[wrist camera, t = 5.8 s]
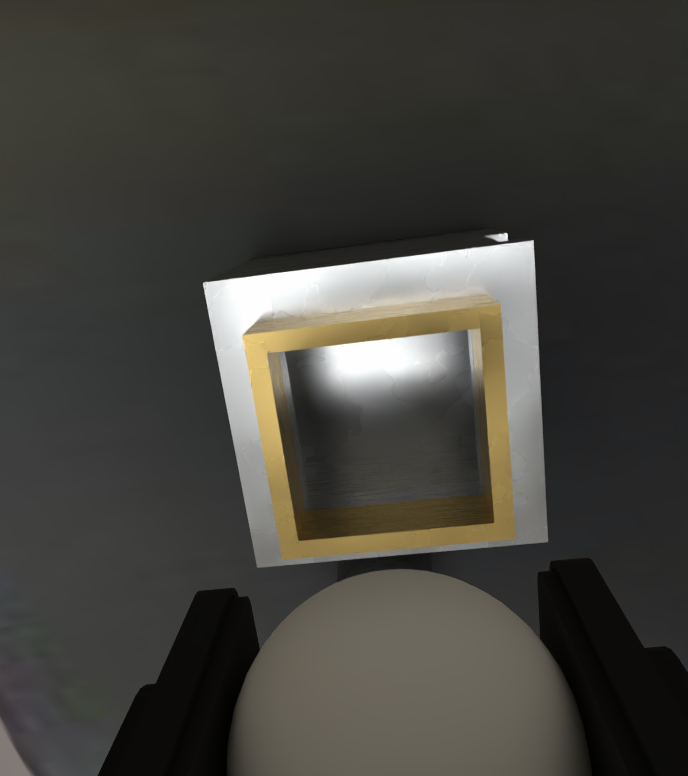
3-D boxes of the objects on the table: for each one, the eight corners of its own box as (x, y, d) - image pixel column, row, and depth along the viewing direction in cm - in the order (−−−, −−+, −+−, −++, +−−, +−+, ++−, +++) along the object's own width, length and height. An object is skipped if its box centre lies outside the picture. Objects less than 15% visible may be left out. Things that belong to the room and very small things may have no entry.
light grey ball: (534, 496, 9) (665, 744, 5) (545, 738, 11) (658, 1097, 6) (237, 524, 10) (134, 778, 5) (282, 755, 11) (225, 1106, 7)
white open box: (488, 227, 27) (551, 245, 17) (503, 451, 29) (564, 575, 20) (252, 258, 27) (183, 292, 18) (288, 473, 30) (245, 602, 21)
